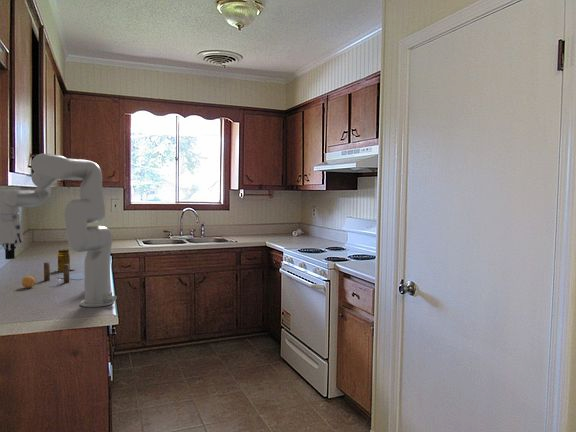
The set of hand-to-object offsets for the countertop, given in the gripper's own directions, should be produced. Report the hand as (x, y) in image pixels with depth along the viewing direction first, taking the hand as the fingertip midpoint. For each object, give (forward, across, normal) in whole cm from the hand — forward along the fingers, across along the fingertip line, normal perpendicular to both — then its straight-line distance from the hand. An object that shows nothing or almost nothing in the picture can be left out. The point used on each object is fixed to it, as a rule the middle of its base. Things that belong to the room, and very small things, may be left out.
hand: (10, 258), depth 197 cm
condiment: (+15, +20, -50) cm, 56 cm away
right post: (+15, -6, -25) cm, 30 cm away
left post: (+15, +6, -25) cm, 30 cm away
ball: (+12, 0, -9) cm, 15 cm away
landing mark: (+15, 0, -39) cm, 42 cm away
